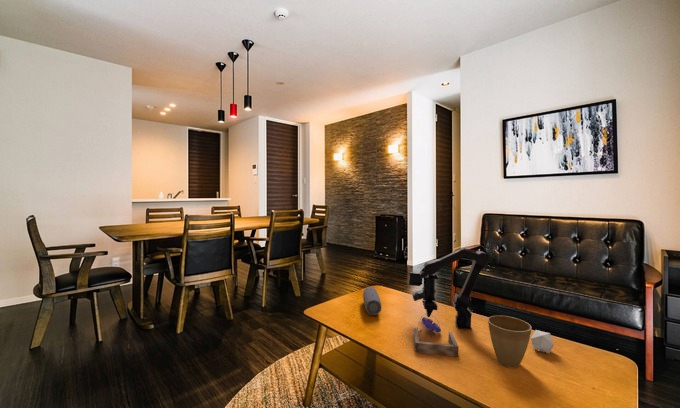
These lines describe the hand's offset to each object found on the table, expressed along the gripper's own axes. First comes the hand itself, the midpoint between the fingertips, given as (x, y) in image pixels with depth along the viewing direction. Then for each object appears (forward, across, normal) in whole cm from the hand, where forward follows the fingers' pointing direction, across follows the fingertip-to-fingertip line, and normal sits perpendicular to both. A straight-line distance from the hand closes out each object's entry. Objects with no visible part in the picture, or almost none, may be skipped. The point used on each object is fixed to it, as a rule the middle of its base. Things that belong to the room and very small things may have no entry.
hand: (428, 316), depth 151 cm
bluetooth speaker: (+3, -11, -30) cm, 32 cm away
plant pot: (+3, +31, +27) cm, 41 cm away
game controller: (+3, +12, -1) cm, 13 cm away
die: (+3, +18, +45) cm, 48 cm away
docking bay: (+3, +23, 0) cm, 23 cm away
